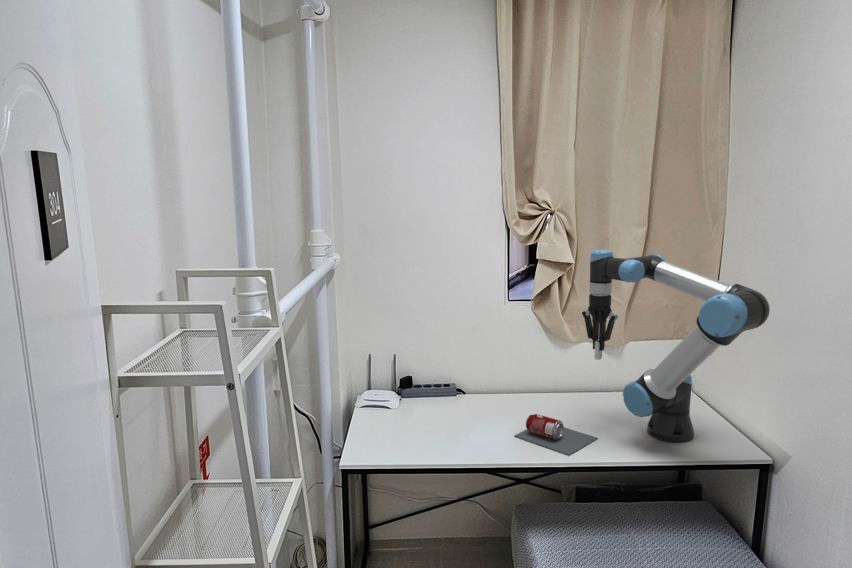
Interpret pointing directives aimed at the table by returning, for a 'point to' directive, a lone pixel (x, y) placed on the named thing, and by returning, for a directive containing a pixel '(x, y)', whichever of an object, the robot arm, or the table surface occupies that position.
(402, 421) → the table surface
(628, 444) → the table surface
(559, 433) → the soda can
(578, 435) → the rubber mat
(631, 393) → the robot arm
